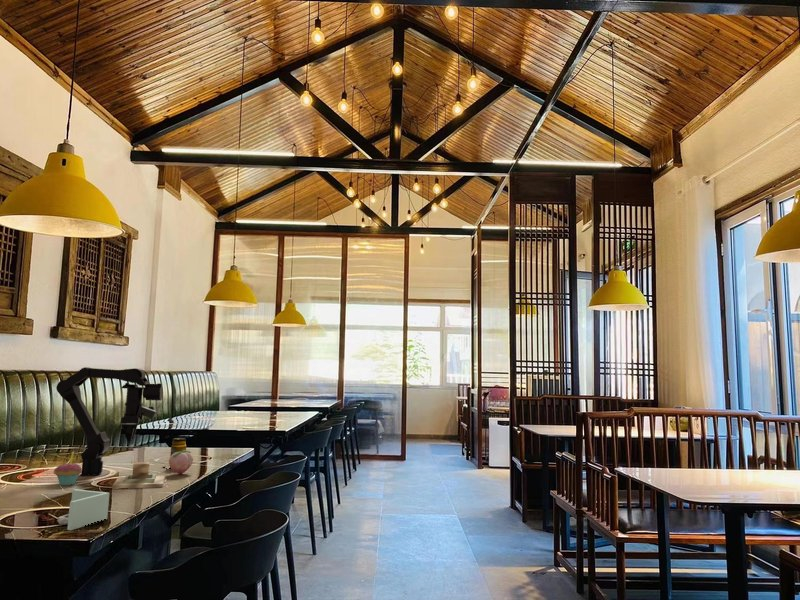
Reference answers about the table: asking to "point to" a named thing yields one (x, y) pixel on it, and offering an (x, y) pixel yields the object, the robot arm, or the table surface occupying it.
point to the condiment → (178, 445)
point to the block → (140, 470)
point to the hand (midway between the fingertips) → (130, 440)
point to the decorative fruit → (180, 461)
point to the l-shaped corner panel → (85, 508)
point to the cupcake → (68, 472)
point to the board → (139, 482)
